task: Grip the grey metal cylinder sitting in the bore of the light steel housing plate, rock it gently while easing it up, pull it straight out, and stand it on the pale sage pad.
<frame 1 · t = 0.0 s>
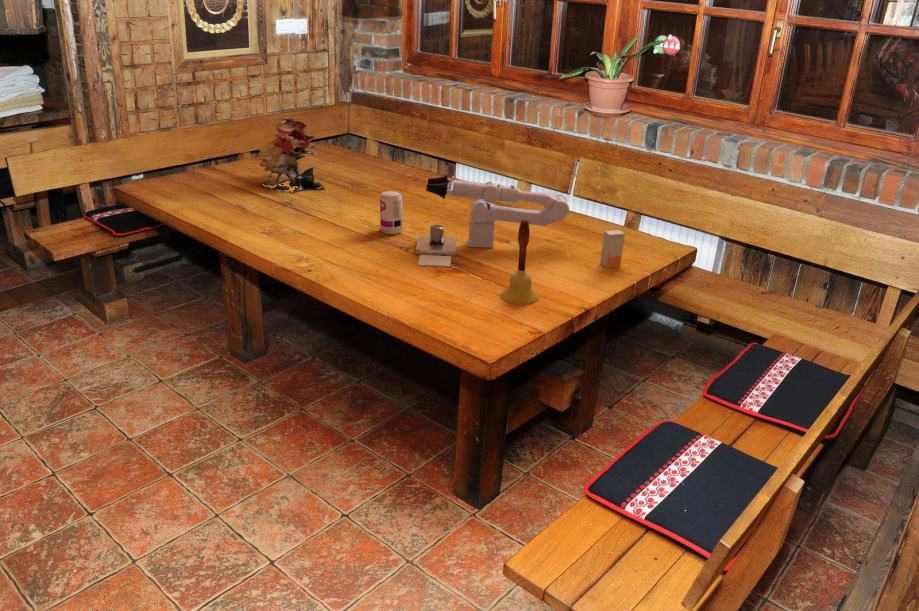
hand: (427, 184, 274), 22 cm above the table, tool horizontal, fingers open, 7 cm apart
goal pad: (434, 261, 266), on the table
supplement can: (391, 232, 292), on the table
housing plate: (436, 248, 278), on the table
grey metal cylinder: (436, 237, 276), in the housing plate
handbell: (519, 297, 241), on the table
rose bouquet: (290, 186, 344), on the table
skincare box: (610, 265, 268), on the table
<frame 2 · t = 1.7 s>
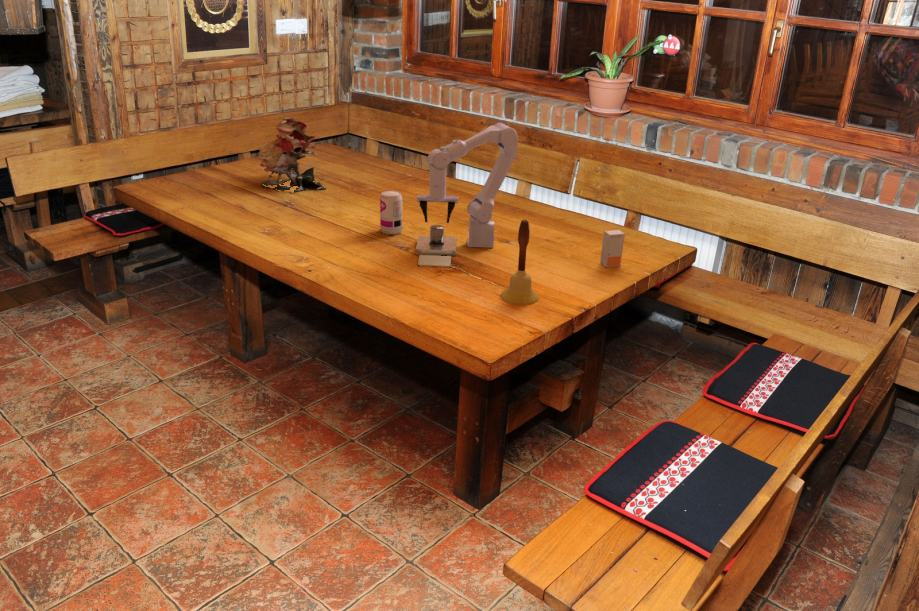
hand: (437, 221, 273), 10 cm above the table, tool pointing down, fingers open, 7 cm apart
nothing on the table moved.
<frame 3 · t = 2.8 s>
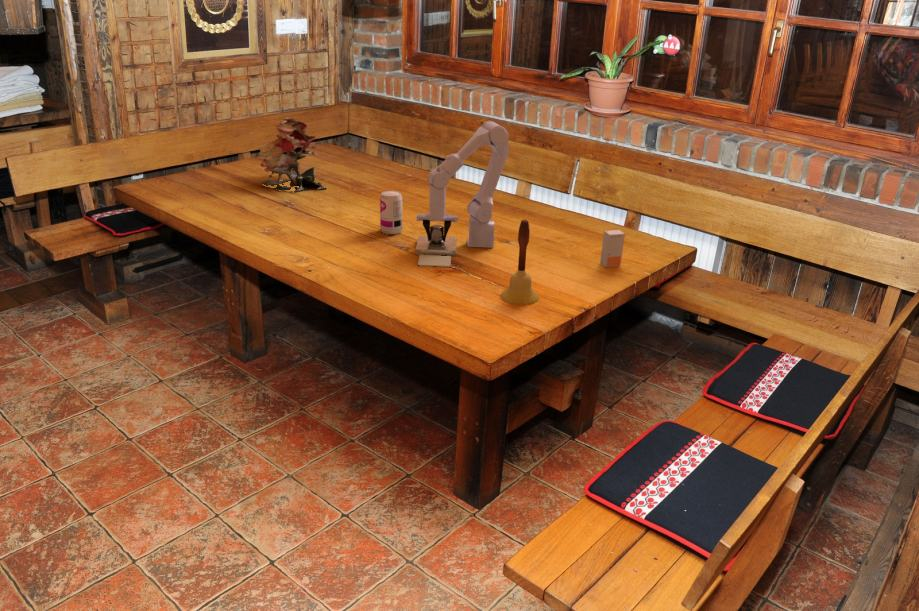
hand: (436, 240, 276), 3 cm above the table, tool pointing down, fingers closed on grey metal cylinder, 5 cm apart
grey metal cylinder: (436, 237, 276), in the housing plate, touching gripper
everything else where it was.
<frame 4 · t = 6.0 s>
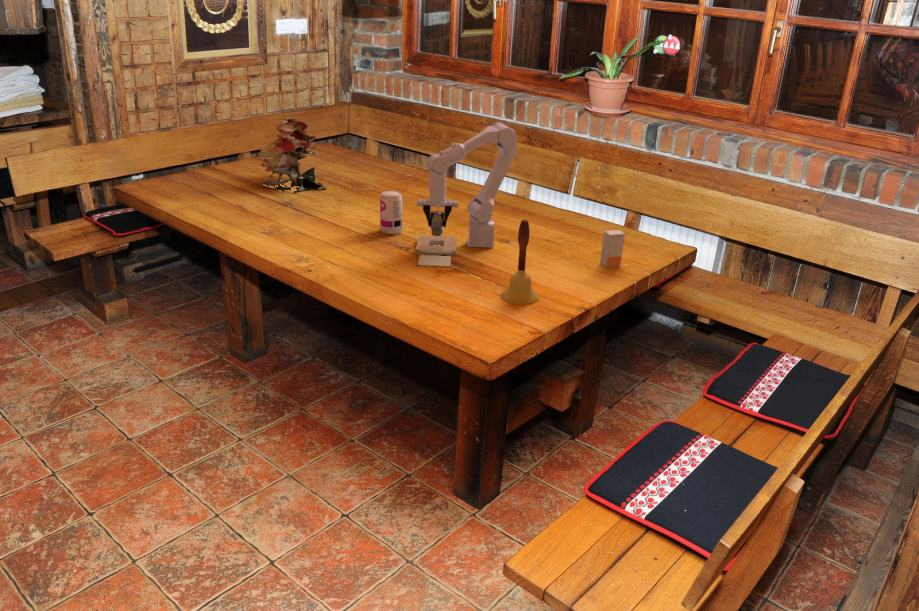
hand: (437, 226, 274), 8 cm above the table, tool pointing down, fingers closed on grey metal cylinder, 5 cm apart
grey metal cylinder: (437, 223, 274), point 9 cm above the table, touching gripper
everything else where it was.
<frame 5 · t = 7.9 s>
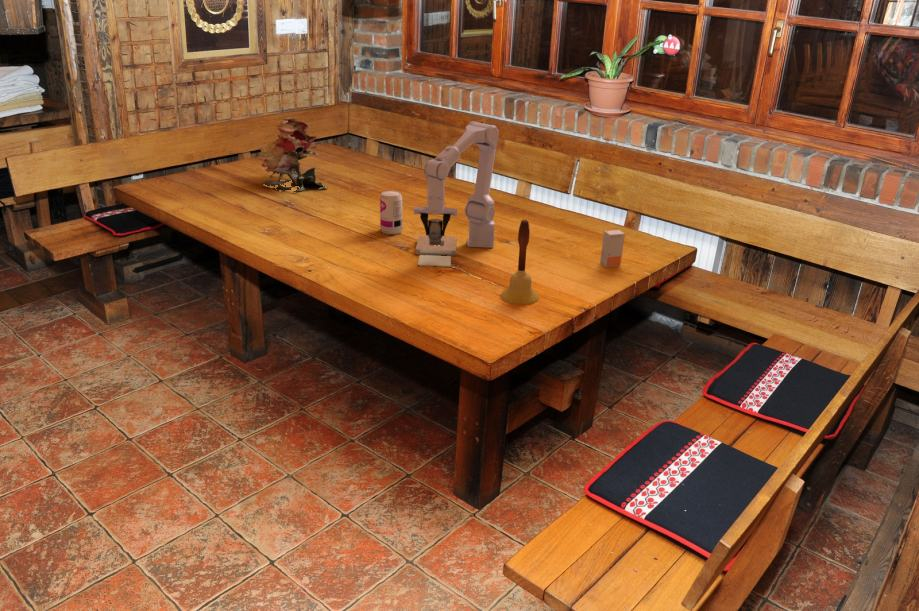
hand: (435, 234, 262), 10 cm above the table, tool pointing down, fingers closed on grey metal cylinder, 5 cm apart
grey metal cylinder: (435, 232, 261), point 11 cm above the table, touching gripper
everything else where it was.
when the fingers open (5 cm above the table, at t = 9.3 s): grey metal cylinder stays where it is, resting on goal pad.
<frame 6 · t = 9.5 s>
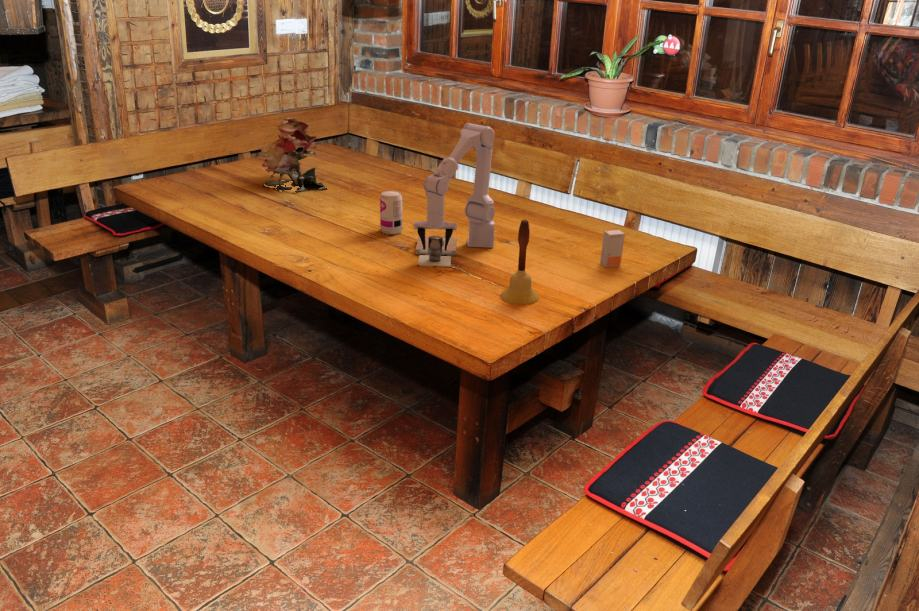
hand: (434, 249, 264), 5 cm above the table, tool pointing down, fingers open, 7 cm apart
grey metal cylinder: (435, 249, 264), on the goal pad
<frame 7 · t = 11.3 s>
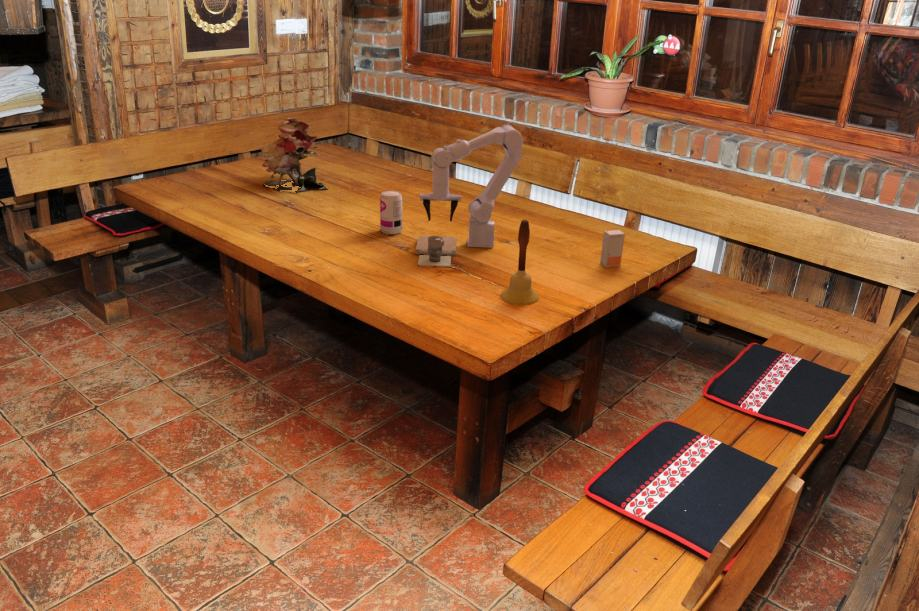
hand: (440, 220, 276), 10 cm above the table, tool pointing down, fingers open, 7 cm apart
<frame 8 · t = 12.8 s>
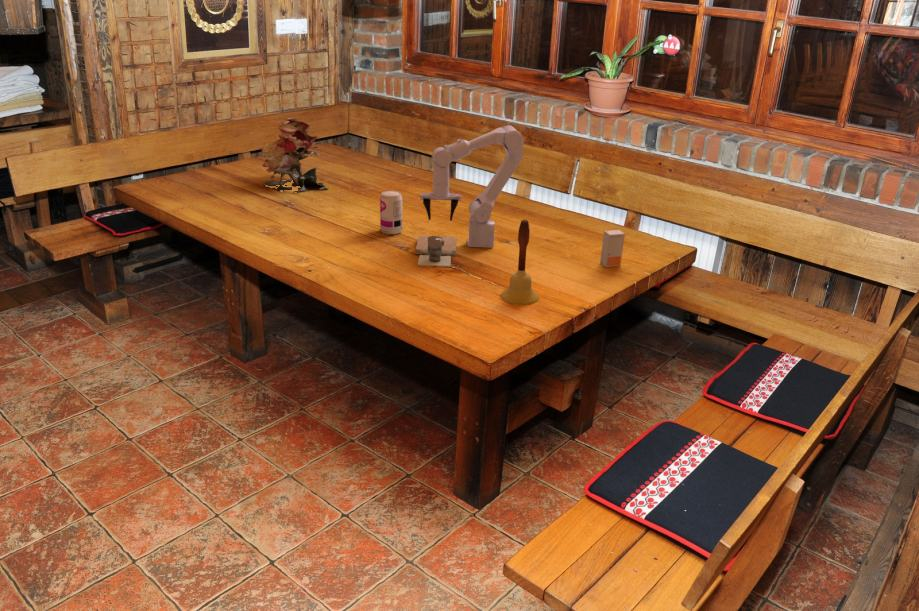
hand: (440, 219, 276), 10 cm above the table, tool pointing down, fingers open, 7 cm apart
at the end: grey metal cylinder 0.0 cm off-centre on the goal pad, point 4.5 cm above the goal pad's base; grey metal cylinder tilted 1°; grey metal cylinder touching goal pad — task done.
